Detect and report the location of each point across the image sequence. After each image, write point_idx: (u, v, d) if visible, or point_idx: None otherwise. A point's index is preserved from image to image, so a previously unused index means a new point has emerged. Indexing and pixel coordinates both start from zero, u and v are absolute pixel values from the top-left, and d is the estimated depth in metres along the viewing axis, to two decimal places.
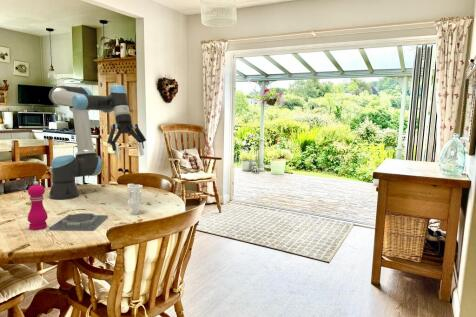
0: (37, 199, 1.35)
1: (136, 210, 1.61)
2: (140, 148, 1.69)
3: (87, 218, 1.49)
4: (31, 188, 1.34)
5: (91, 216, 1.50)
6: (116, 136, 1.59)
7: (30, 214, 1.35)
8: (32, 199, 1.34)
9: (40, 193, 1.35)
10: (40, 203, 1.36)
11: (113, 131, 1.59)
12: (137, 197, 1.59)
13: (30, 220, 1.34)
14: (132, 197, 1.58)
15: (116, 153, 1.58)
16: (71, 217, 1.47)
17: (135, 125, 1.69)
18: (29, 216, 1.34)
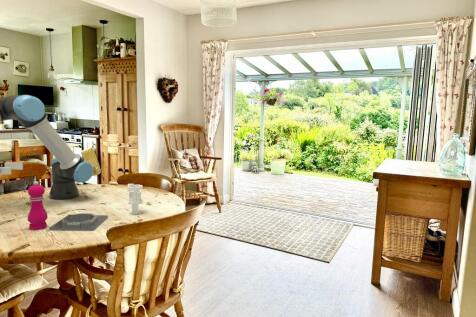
0: (37, 199, 1.35)
1: (136, 210, 1.61)
2: None
3: (87, 218, 1.49)
4: (31, 188, 1.34)
5: (91, 216, 1.50)
6: None
7: (30, 214, 1.35)
8: (32, 199, 1.34)
9: (40, 193, 1.35)
10: (40, 203, 1.36)
11: None
12: (137, 197, 1.59)
13: (30, 220, 1.34)
14: (132, 197, 1.58)
15: None
16: (71, 217, 1.47)
17: None
18: (29, 216, 1.34)
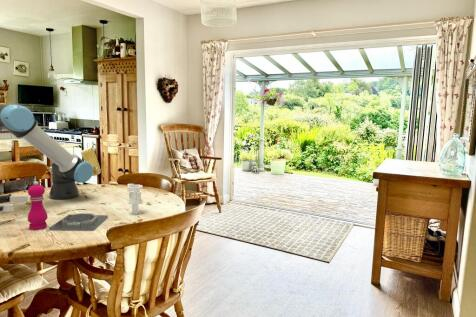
0: (37, 199, 1.35)
1: (136, 210, 1.61)
2: None
3: (87, 218, 1.49)
4: (31, 188, 1.34)
5: (91, 216, 1.50)
6: (0, 202, 1.39)
7: (30, 214, 1.35)
8: (32, 199, 1.34)
9: (40, 193, 1.35)
10: (40, 203, 1.36)
11: None
12: (137, 197, 1.59)
13: (30, 220, 1.34)
14: (132, 197, 1.58)
15: None
16: (71, 217, 1.47)
17: None
18: (29, 216, 1.34)
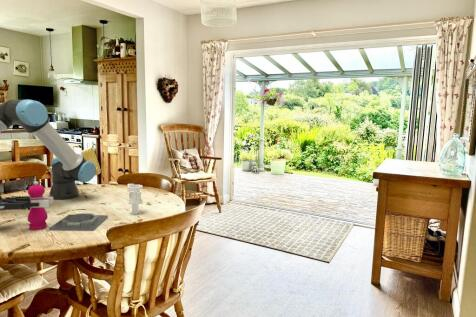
0: (37, 199, 1.35)
1: (136, 210, 1.61)
2: None
3: (87, 218, 1.49)
4: (31, 188, 1.34)
5: (91, 216, 1.50)
6: None
7: (30, 214, 1.35)
8: (32, 199, 1.34)
9: (40, 193, 1.35)
10: None
11: None
12: (137, 197, 1.59)
13: (30, 220, 1.34)
14: (132, 197, 1.58)
15: None
16: (71, 217, 1.47)
17: None
18: (29, 216, 1.34)
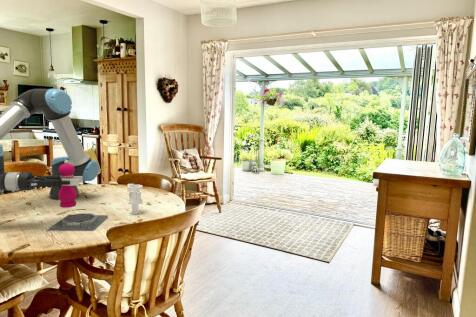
0: (68, 177, 1.38)
1: (136, 210, 1.61)
2: None
3: (87, 218, 1.49)
4: (62, 166, 1.37)
5: (91, 216, 1.50)
6: None
7: (61, 192, 1.38)
8: (63, 177, 1.37)
9: (70, 172, 1.38)
10: None
11: None
12: (137, 197, 1.59)
13: (61, 198, 1.37)
14: (132, 197, 1.58)
15: None
16: (71, 217, 1.47)
17: None
18: (60, 194, 1.38)
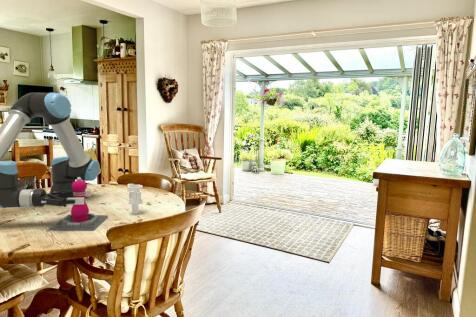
0: (80, 194, 1.41)
1: (136, 210, 1.61)
2: None
3: None
4: (75, 183, 1.40)
5: (91, 216, 1.50)
6: (66, 196, 1.48)
7: (74, 208, 1.41)
8: (76, 194, 1.41)
9: (83, 188, 1.42)
10: None
11: None
12: (137, 197, 1.59)
13: (74, 214, 1.41)
14: (132, 197, 1.58)
15: None
16: (71, 217, 1.47)
17: None
18: (73, 210, 1.41)
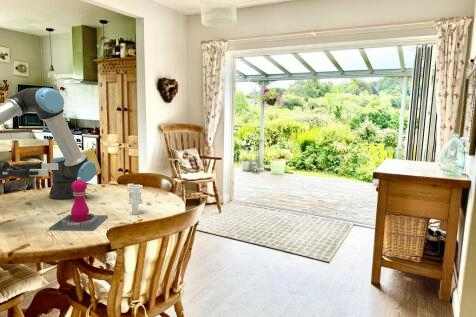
0: (80, 194, 1.41)
1: (136, 210, 1.61)
2: None
3: None
4: (75, 183, 1.40)
5: (91, 216, 1.50)
6: None
7: (74, 208, 1.41)
8: (76, 194, 1.41)
9: (83, 188, 1.42)
10: (83, 198, 1.43)
11: None
12: (137, 197, 1.59)
13: (74, 214, 1.41)
14: (132, 197, 1.58)
15: None
16: (71, 217, 1.47)
17: None
18: (73, 210, 1.41)
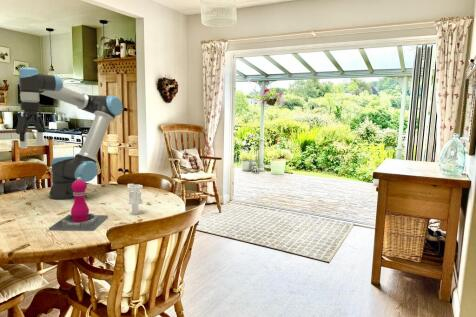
0: (80, 194, 1.41)
1: (136, 210, 1.61)
2: None
3: None
4: (75, 183, 1.40)
5: (91, 216, 1.50)
6: None
7: (74, 208, 1.41)
8: (76, 194, 1.41)
9: (83, 188, 1.42)
10: (83, 198, 1.43)
11: None
12: (137, 197, 1.59)
13: (74, 214, 1.41)
14: (132, 197, 1.58)
15: None
16: (71, 217, 1.47)
17: None
18: (73, 210, 1.41)
